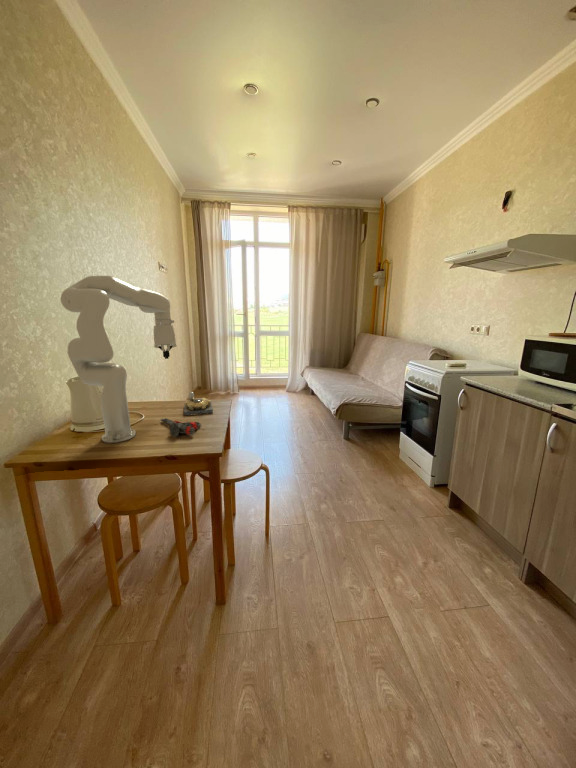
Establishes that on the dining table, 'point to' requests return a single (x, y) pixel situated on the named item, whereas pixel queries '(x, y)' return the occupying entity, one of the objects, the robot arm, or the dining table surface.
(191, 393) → the beige lumpy block
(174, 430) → the grey red jointed piece
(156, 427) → the dining table surface
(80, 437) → the dining table surface
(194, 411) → the base plate
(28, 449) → the dining table surface
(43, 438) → the dining table surface
